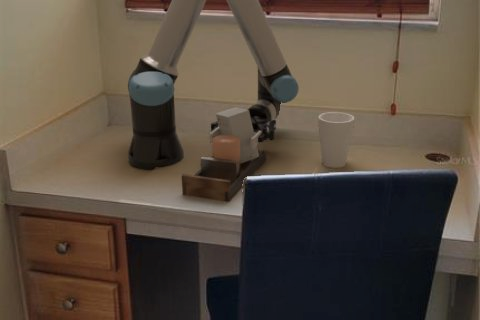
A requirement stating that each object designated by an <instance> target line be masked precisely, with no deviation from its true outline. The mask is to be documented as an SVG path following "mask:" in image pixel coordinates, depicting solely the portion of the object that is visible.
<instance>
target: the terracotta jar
mask: <svg viewBox="0 0 480 320" xmlns="http://www.w3.org/2000/svg"><path fill="white" fill-rule="evenodd" d="M211 153H212V154H211V155H212V157H211V158H218V159H226V160H234V161H238V167H239V176H240V138H239V137H237V136H233V135H220V136H216V137H214V138H213V139H212V143H211Z"/></svg>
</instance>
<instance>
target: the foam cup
mask: <svg viewBox="0 0 480 320" xmlns="http://www.w3.org/2000/svg"><path fill="white" fill-rule="evenodd" d="M317 120H318V121H317V127H318V133H319V134H318V135H319V140H320V142H319V143H320V152H321V153H320V154H321V162H322V164H323V165H324V166H325V167H328V168H333V169H334V168H336V169H337V168H338V169H339V168H342V167H344V166H346V163H347V159H348V154H349V148H350V144H351V138H352V135H353V129H354V127H355V126H354V125H355V116H354V115H352V114H350V113H347V112H340V111H327V112H323V113H320V114H319V115H318V118H317ZM323 165H322V166H323Z"/></svg>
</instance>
